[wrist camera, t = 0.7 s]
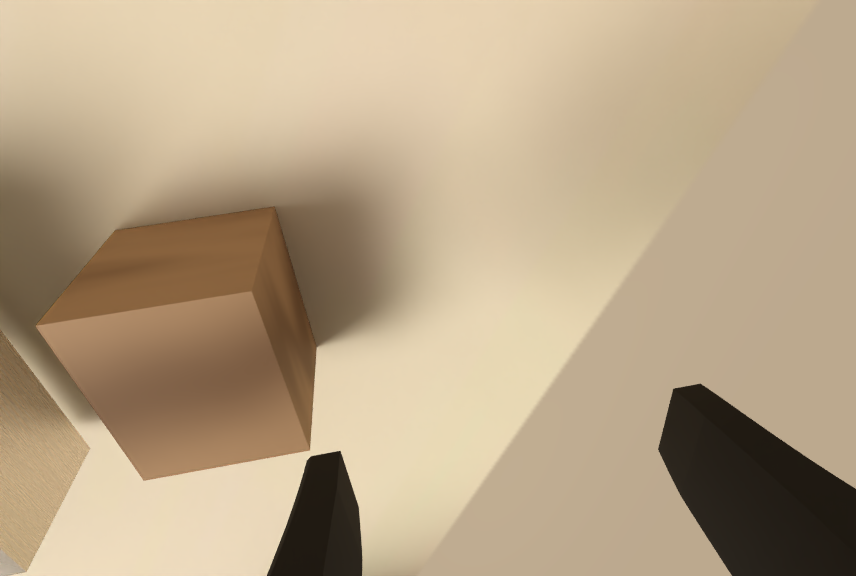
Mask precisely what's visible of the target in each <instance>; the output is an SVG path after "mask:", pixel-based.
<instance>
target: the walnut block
mask: <svg viewBox="0 0 856 576" xmlns="http://www.w3.org/2000/svg"><path fill="white" fill-rule="evenodd" d="M36 328H37V329H38V331H39V332H40V333H41V335H42V336H43V338H44V339H45V341H46V342H47V343H48V345H49V346H50V348H51V349H52V351H53V352H54V353H55V355H56V356H57V358H58V359H59V360H60V362H61V363H62V365H63V366H64V368H65V369H66V370H67V372H68V373H69V375H70V376H71V378H72V379H73V380H74V382H75V383H76V385H77V386H78V388H79V389H80V390H81V392H82V393H83V395H84V396H85V397H86V399H87V400H88V402H89V403H90V405H91V406H92V407H93V409H94V410H95V412H96V413H97V415H98V416H99V417H100V419H101V420H102V422H103V423H104V424H105V426H106V427H107V429H108V430H109V432H110V433H111V434H112V436H113V437H114V439H115V440H116V442H117V443H118V444H119V446H120V447H121V449H122V450H123V452H124V453H125V454H126V456H127V457H128V459H129V460H130V461H131V463H132V464H133V466H134V467H135V469H136V470H137V471H138V473H139V474H140V476H141V477H142V479H143V480H144V481H145V480H150V479H155V478H161V477H166V476H172V475H177V474H183V473H188V472H194V471H199V470H205V469H210V468H216V467H221V466H227V465H232V464H238V463H243V462H248V461H254V460H259V459H265V458H270V457H276V456H281V455H287V454H292V453H298V452H303V451H309V450H310V441H311V425H312V410H313V394H314V379H315V363H316V348H317V347H316V344H315V341H314V337H313V334H312V330H311V327H310V324H309V320H308V317H307V314H306V310H305V307H304V304H303V300H302V297H301V294H300V290H299V287H298V284H297V280H296V277H295V274H294V270H293V267H292V263H291V260H290V257H289V253H288V250H287V247H286V243H285V240H284V237H283V233H282V230H281V227H280V223H279V220H278V217H277V213H276V210H275V207H269V208H262V209H255V210H249V211H242V212H235V213H229V214H222V215H215V216H209V217H202V218H195V219H189V220H182V221H175V222H169V223H162V224H155V225H149V226H142V227H135V228H128V229H122V230H115V231H114V232H113V233H112V235H111V236H110V237H109V238H108V239H107V241H106V242H105V243H104V244H103V245H102V247H101V248H100V249H99V250H98V251H97V253H96V254H95V255H94V256H93V257H92V259H91V260H90V261H89V262H88V263H87V265H86V266H85V267H84V268H83V269H82V271H81V272H80V273H79V274H78V275H77V277H76V278H75V279H74V280H73V281H72V282H71V284H70V285H69V286H68V287H67V288H66V290H65V291H64V292H63V293H62V294H61V296H60V297H59V298H58V299H57V300H56V302H55V303H54V304H53V305H52V306H51V308H50V309H49V310H48V311H47V312H46V314H45V315H44V316H43V317H42V318H41V320H40V321H39V322H38V323H37V324H36Z"/></svg>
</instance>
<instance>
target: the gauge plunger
mask: <svg viewBox="0 0 856 576" xmlns="http://www.w3.org/2000/svg"><path fill="white" fill-rule="evenodd" d="M89 450H90V447H89V446H88V445H87V443H86V442H85V441H84V439H83V438H82V437H81V435H80V434H79V433H78V431H77V430H76V429H75V427H74V426H73V425H72V423H71V422H70V421H69V419H68V418H67V417H66V416H65V414H64V413H63V412H62V410H61V409H60V408H59V406H58V405H57V404H56V402H55V401H54V400H53V398H52V397H51V396H50V394H49V393H48V392H47V390H46V389H45V388H44V386H43V385H42V384H41V383H40V381H39V380H38V379H37V377H36V376H35V375H34V373H33V372H32V371H31V369H30V368H29V367H28V365H27V364H26V363H25V361H24V360H23V359H22V357H21V356H20V355H19V353H18V352H17V351H16V350H15V348H14V347H13V346H12V344H11V343H10V342H9V340H8V339H7V338H6V336H5V335H4V334H3V332H2V331H1V330H0V576H8V575H13V574H19V573H24V572H27V570H28V568H29V566H30V564H31V562H32V560H33V558H34V556H35V554H36V552H37V551H38V549H39V547H40V545H41V543H42V541H43V539H44V537H45V535H46V533H47V531H48V529H49V527H50V525H51V523H52V521H53V519H54V518H55V516H56V514H57V512H58V510H59V508H60V506H61V504H62V502H63V500H64V498H65V496H66V494H67V492H68V490H69V488H70V487H71V485H72V483H73V481H74V479H75V477H76V475H77V473H78V471H79V469H80V467H81V465H82V463H83V461H84V459H85V457H86V455H87V454H88V452H89Z"/></svg>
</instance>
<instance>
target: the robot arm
mask: <svg viewBox="0 0 856 576" xmlns="http://www.w3.org/2000/svg"><path fill="white" fill-rule="evenodd" d="M658 450H659V452H660V454H661V456H662V459H663V461H664V463H665V465H666V467H667V469H668V471H669V473H670V475H671V477H672V479H673V481H674V483H675V485H676V487H677V489H678V491H679V493H680V495H681V497H682V498H683V500H684V501H685V503H686V505H687V506H688V508H689V510H690V511H691V513H692V514H693V516H694V517H695V519H696V521H697V522H698V524H699V525H700V527H701V528H702V530H703V531H704V533H705V535H706V536H707V538H708V539H709V541H710V542H711V544H712V545H713V547H714V549H715V550H716V552H717V553H718V555H719V556H720V558H721V559H722V561H723V563H724V564H725V565H726V567H727V569H728V570H729V572H730V573H731V575H732V576H856V489H855V488H853V487H852V486H850V485H849V484H847V483H845V482H844V481H842V480H841V479H839V478H838V477H836V476H834V475H833V474H831V473H830V472H828V471H827V470H825V469H824V468H822V467H821V466H819V465H817V464H816V463H815V462H813V461H811V460H810V459H808V458H807V457H805V456H803V455H802V454H801V453H800V452H798V451H797V450H795V449H793V448H792V447H791V446H789V445H788V444H786V443H785V442H783V441H782V440H780V439H779V438H778V437H776V436H775V435H773V434H772V433H770V432H769V431H767V430H766V429H764V428H763V427H762V426H760V425H759V424H757V423H756V422H755V421H753V420H752V419H750V418H749V417H747V416H746V415H745V414H743V413H741V412H740V411H739V410H738V409H736V408H735V407H733V406H731V405H730V404H729V403H728V402H726V401H725V400H723V399H722V398H720V397H719V396H718V395H716V394H715V393H713V392H712V391H710V390H709V389H707V388H706V387H705V386H703V385H702V384H697V385H691V386H686V387H681V388H675V389H673V393H672V397H671V400H670V404H669V408H668V413H667V417H666V420H665V425H664V428H663V432H662V437H661V441H660V444H659V448H658ZM267 576H362V546H361V531H360V518H359V507H358V504H357V501H356V498H355V495H354V491H353V488H352V485H351V482H350V479H349V476H348V473H347V470H346V467H345V464H344V461H343V457H342V454H341V451H337V452H332V453H327V454H321V455H316V456H311V457H310V458H309V459H308V460H307V463H306V466H305V470H304V474H303V477H302V480H301V484H300V487H299V490H298V493H297V496H296V499H295V502H294V505H293V508H292V511H291V514H290V517H289V520H288V522H287V525H286V528H285V531H284V533H283V536H282V538H281V541H280V544H279V546H278V549H277V551H276V554H275V556H274V559H273V561H272V564H271V567H270V569H269V572H268V574H267Z"/></svg>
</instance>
